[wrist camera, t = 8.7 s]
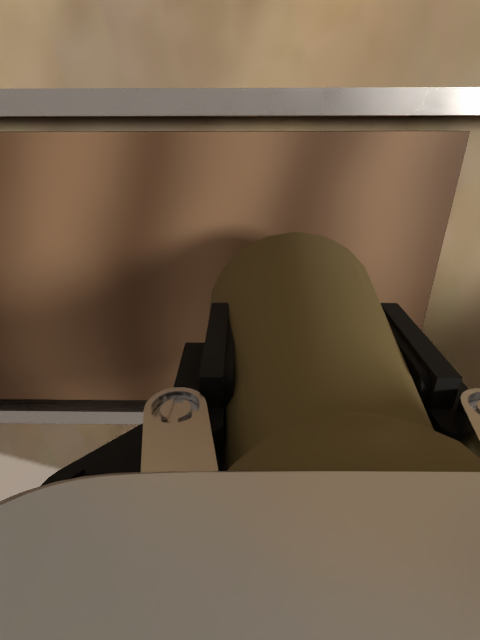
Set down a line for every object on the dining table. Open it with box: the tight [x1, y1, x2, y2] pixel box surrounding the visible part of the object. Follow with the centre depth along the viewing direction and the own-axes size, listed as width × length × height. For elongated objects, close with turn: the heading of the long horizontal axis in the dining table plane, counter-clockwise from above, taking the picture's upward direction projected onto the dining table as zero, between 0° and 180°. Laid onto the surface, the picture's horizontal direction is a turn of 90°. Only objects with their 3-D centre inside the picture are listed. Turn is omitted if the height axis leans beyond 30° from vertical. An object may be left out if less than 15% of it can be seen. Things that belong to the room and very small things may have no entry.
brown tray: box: [0, 131, 470, 400], centre depth 15 cm, size 24×12×6 cm, turn 90°
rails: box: [0, 87, 480, 424], centre depth 17 cm, size 26×15×2 cm, turn 90°
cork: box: [209, 232, 480, 472], centre depth 9 cm, size 6×6×11 cm
